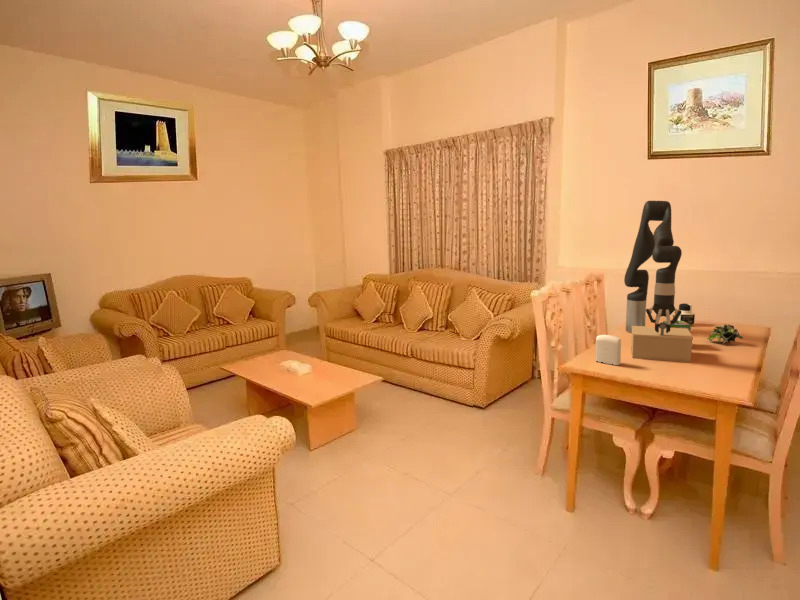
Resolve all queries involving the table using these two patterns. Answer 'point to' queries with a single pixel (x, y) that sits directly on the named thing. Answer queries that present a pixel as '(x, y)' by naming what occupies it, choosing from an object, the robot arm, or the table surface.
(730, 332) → the green leafy plant
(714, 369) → the table surface
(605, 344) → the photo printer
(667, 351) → the carton
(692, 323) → the medicine bottle
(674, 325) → the chalk box
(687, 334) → the carton flap
